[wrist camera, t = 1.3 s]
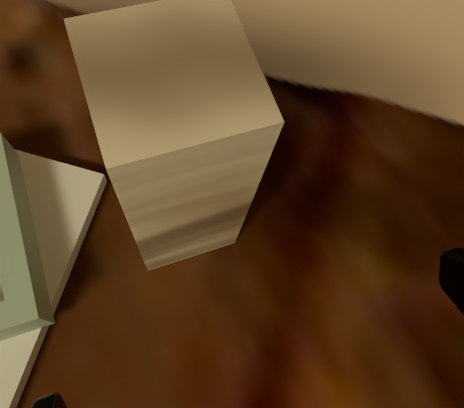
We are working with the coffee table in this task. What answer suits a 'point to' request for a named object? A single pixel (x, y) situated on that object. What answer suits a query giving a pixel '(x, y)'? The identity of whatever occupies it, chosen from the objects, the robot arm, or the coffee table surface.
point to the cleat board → (60, 250)
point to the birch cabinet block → (177, 120)
